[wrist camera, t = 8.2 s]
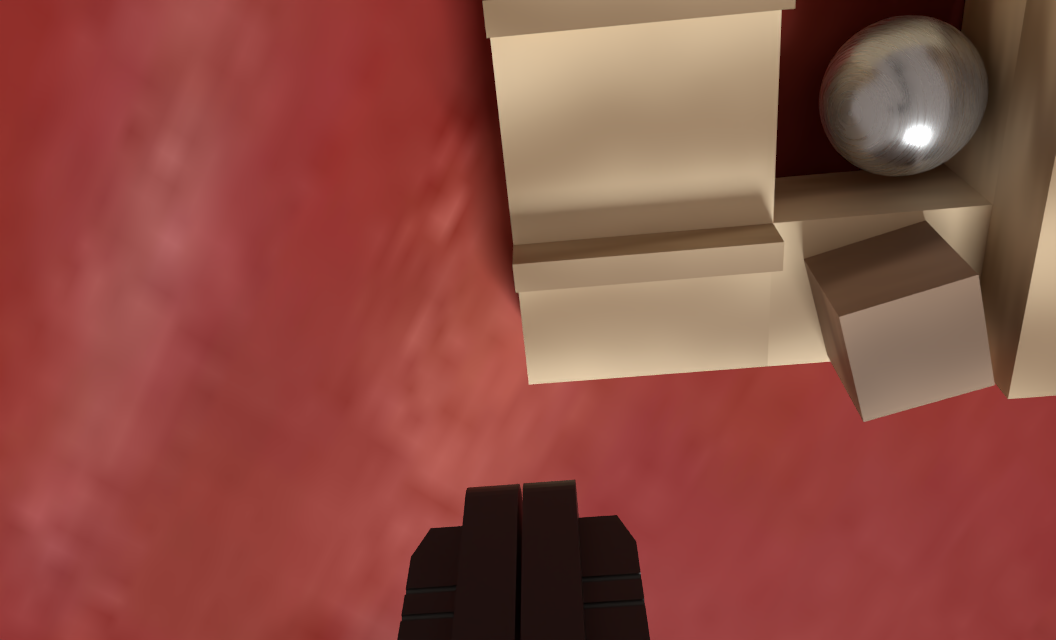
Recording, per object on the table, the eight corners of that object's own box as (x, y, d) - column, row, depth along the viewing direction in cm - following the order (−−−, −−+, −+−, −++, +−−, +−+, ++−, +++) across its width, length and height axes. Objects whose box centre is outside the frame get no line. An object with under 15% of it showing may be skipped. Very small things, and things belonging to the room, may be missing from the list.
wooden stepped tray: (474, -187, 27) (456, -188, 21) (1085, -253, 26) (1252, -275, 20) (529, 329, 36) (528, 434, 30) (991, 292, 35) (1087, 393, 29)
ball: (934, 41, 25) (1036, 11, 27) (791, 20, 28) (891, -4, 31) (910, 212, 27) (1006, 171, 29) (781, 172, 31) (875, 138, 33)
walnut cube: (803, 258, 30) (839, 316, 27) (925, 220, 29) (978, 274, 26) (827, 355, 32) (863, 422, 28) (942, 321, 31) (994, 385, 28)
